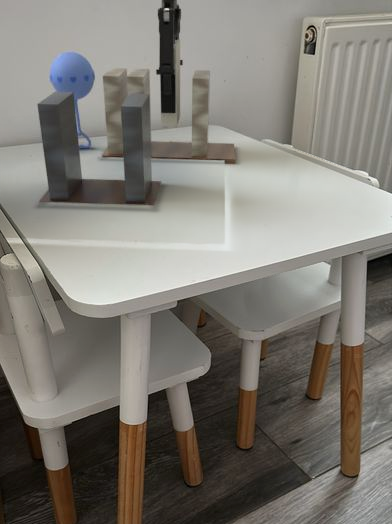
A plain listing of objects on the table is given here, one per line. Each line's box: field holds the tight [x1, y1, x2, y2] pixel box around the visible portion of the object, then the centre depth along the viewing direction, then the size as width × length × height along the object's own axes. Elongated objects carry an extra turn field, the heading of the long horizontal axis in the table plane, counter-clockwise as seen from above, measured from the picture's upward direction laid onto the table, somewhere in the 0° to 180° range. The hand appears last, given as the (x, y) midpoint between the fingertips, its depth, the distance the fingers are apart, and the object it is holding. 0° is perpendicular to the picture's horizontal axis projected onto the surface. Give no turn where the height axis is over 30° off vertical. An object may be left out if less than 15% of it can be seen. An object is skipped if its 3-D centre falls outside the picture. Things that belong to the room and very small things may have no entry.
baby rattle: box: [48, 51, 96, 150], centre depth 111 cm, size 9×9×18 cm
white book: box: [159, 38, 181, 128], centre depth 107 cm, size 3×10×14 cm, turn 178°
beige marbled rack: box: [101, 67, 236, 165], centre depth 110 cm, size 26×12×15 cm, turn 88°
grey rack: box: [36, 91, 162, 206], centre depth 88 cm, size 18×12×15 cm, turn 88°
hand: (170, 106), depth 109 cm, fingers closed on white book, 10 cm apart
